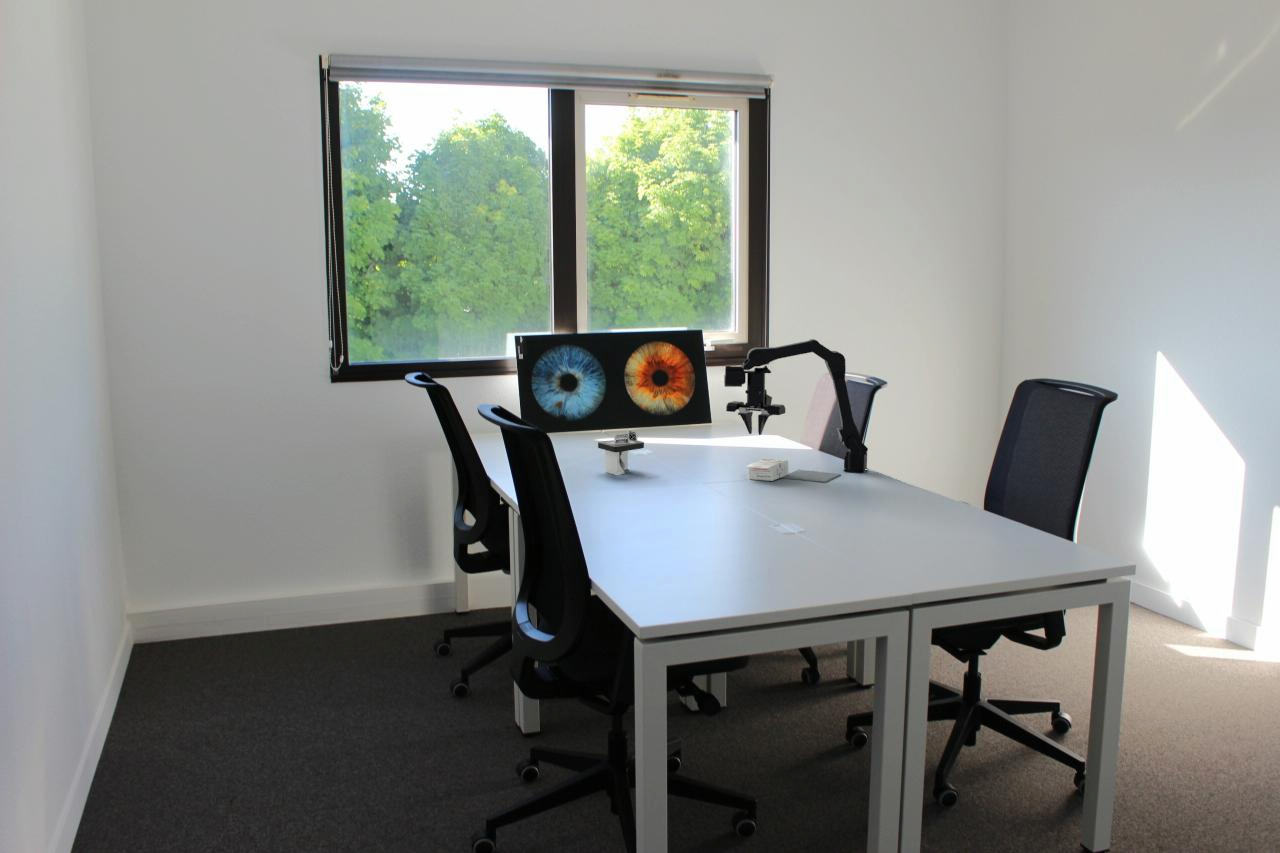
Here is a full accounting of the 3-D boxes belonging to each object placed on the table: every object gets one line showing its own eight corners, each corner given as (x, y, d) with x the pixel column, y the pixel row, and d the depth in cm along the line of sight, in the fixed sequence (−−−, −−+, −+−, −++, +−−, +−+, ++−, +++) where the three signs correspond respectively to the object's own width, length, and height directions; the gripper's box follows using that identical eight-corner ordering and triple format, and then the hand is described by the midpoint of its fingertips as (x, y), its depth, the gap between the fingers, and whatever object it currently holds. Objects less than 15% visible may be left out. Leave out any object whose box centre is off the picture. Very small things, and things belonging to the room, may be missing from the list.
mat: (840, 475, 349) (840, 473, 349) (825, 482, 337) (825, 481, 337) (798, 470, 356) (798, 469, 356) (781, 478, 344) (781, 476, 344)
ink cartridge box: (765, 473, 352) (744, 481, 340) (764, 458, 352) (743, 465, 340) (789, 475, 348) (768, 482, 336) (788, 459, 347) (768, 466, 335)
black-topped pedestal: (607, 485, 336) (607, 442, 334) (565, 471, 357) (564, 431, 355) (681, 475, 351) (681, 434, 349) (636, 462, 372) (636, 424, 370)
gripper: (792, 386, 355) (791, 433, 357) (740, 382, 364) (739, 428, 366) (779, 389, 345) (778, 438, 347) (725, 386, 354) (725, 433, 357)
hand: (755, 434), depth 355 cm, fingers open, 3 cm apart
